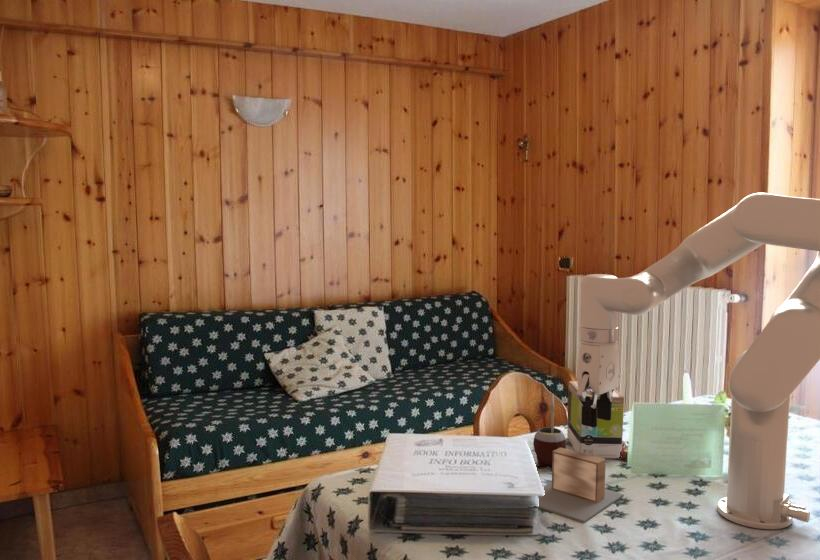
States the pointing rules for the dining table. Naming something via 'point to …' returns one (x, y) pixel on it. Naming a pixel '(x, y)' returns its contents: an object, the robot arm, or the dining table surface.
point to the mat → (575, 504)
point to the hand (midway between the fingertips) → (596, 421)
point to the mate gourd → (548, 441)
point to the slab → (578, 474)
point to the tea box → (601, 438)
